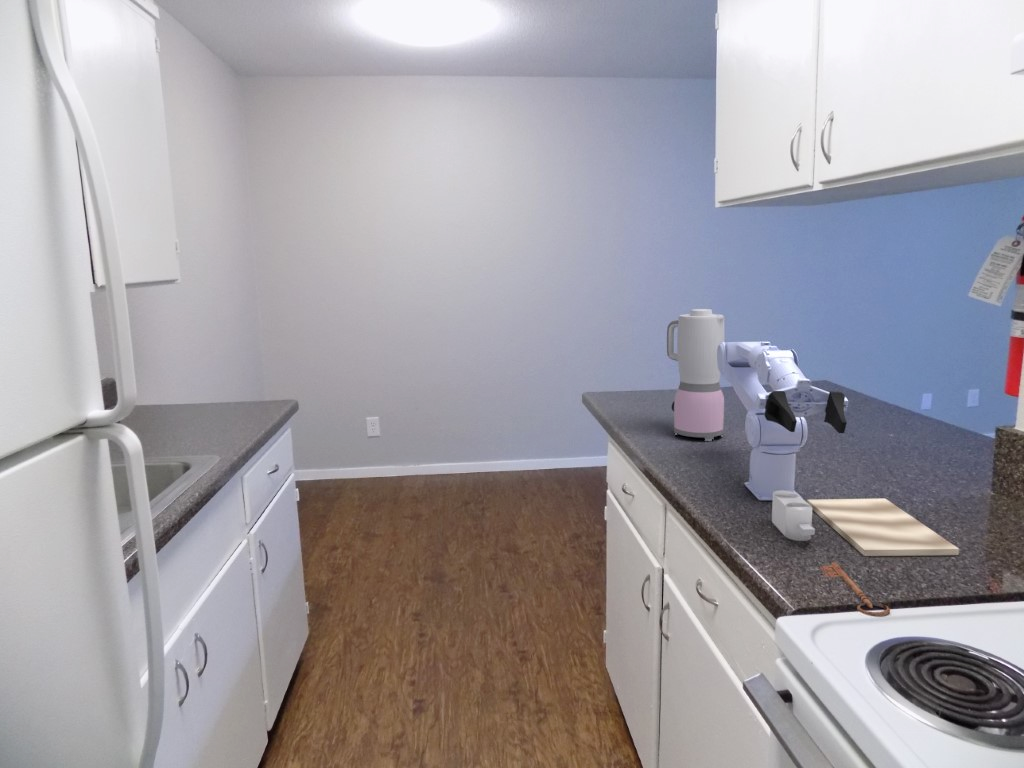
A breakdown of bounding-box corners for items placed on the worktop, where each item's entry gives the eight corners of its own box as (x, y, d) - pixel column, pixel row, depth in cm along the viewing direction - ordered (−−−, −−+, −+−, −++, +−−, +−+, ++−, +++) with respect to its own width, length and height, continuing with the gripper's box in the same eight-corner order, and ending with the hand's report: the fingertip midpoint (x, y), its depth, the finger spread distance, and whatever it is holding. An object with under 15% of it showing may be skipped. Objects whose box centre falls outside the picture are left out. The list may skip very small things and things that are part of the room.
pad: (806, 504, 126) (807, 499, 126) (884, 503, 125) (885, 498, 125) (864, 556, 104) (864, 549, 104) (958, 555, 104) (959, 548, 104)
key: (807, 568, 102) (847, 620, 88) (807, 562, 102) (846, 613, 87) (847, 566, 102) (894, 617, 87) (847, 560, 102) (894, 611, 87)
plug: (768, 517, 120) (769, 490, 119) (791, 517, 120) (792, 490, 119) (795, 547, 108) (796, 517, 107) (821, 547, 108) (822, 516, 107)
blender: (732, 435, 175) (737, 309, 169) (708, 445, 166) (712, 312, 161) (678, 425, 186) (680, 306, 180) (653, 434, 178) (654, 310, 172)
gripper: (753, 366, 119) (775, 403, 107) (838, 368, 118) (871, 406, 106) (747, 402, 122) (768, 442, 110) (830, 404, 122) (860, 444, 110)
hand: (818, 427), depth 109 cm, fingers open, 7 cm apart
